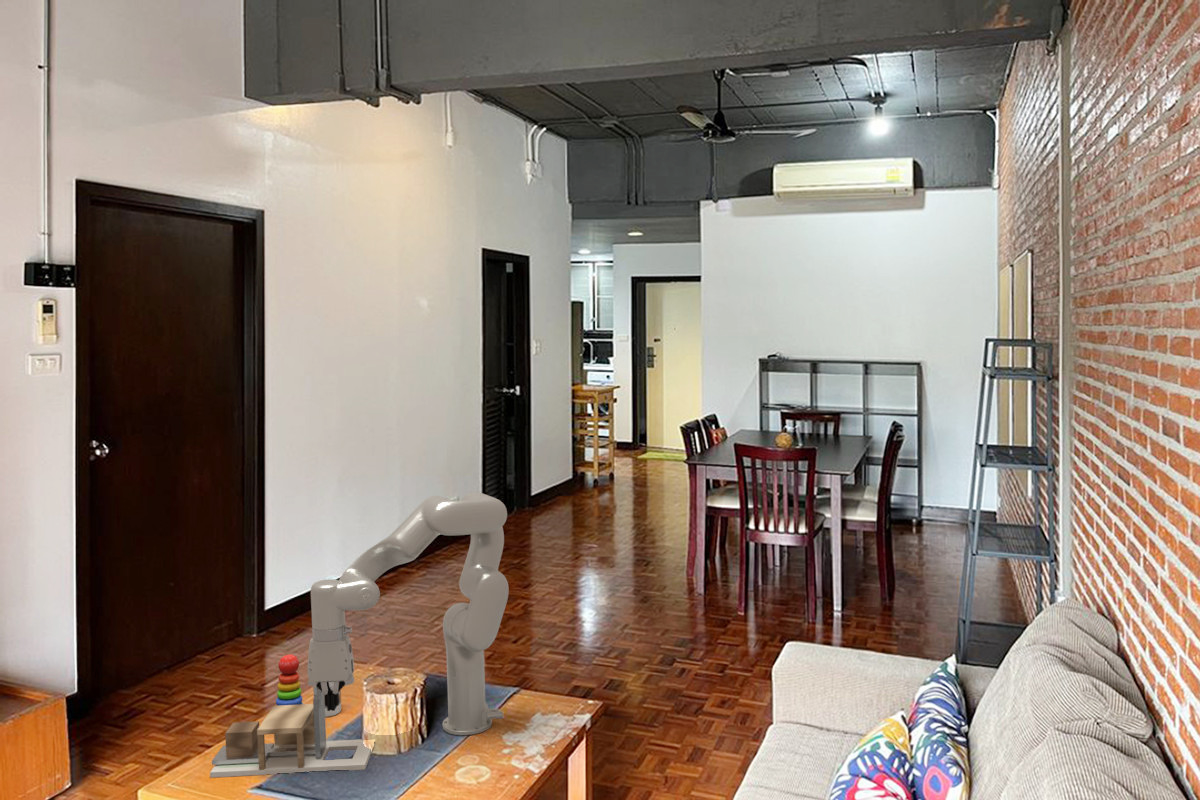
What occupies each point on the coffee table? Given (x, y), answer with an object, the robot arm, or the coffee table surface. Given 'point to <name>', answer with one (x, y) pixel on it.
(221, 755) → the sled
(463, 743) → the coffee table surface
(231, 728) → the walnut block
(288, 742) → the tunnel
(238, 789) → the coffee table surface
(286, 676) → the stacking toy
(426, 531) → the robot arm
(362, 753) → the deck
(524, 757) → the coffee table surface
